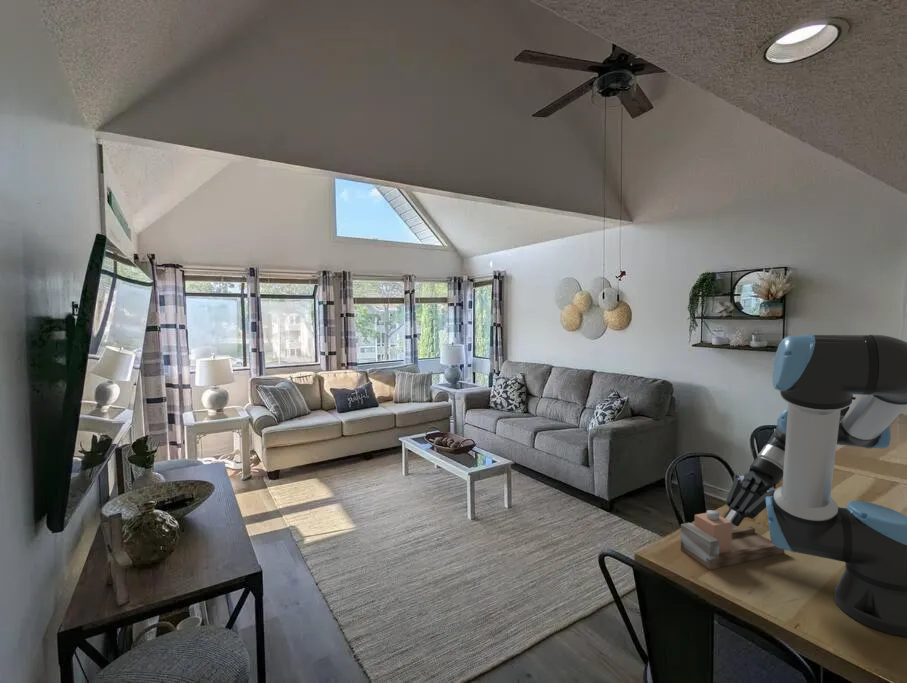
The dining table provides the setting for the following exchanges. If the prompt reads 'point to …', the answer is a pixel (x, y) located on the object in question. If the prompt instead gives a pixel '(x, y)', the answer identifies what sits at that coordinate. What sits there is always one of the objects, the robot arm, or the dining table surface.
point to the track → (742, 549)
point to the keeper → (716, 528)
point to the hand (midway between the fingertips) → (723, 531)
